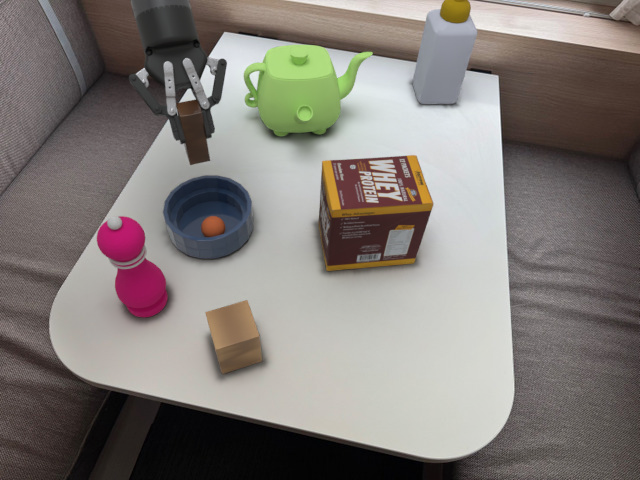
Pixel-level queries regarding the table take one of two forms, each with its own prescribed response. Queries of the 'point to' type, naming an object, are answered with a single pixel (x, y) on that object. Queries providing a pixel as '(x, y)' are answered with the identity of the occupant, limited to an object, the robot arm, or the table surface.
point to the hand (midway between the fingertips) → (196, 140)
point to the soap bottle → (444, 53)
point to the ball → (212, 226)
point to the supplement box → (372, 211)
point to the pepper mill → (132, 266)
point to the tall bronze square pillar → (193, 131)
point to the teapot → (299, 88)
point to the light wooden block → (234, 336)
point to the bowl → (208, 215)
